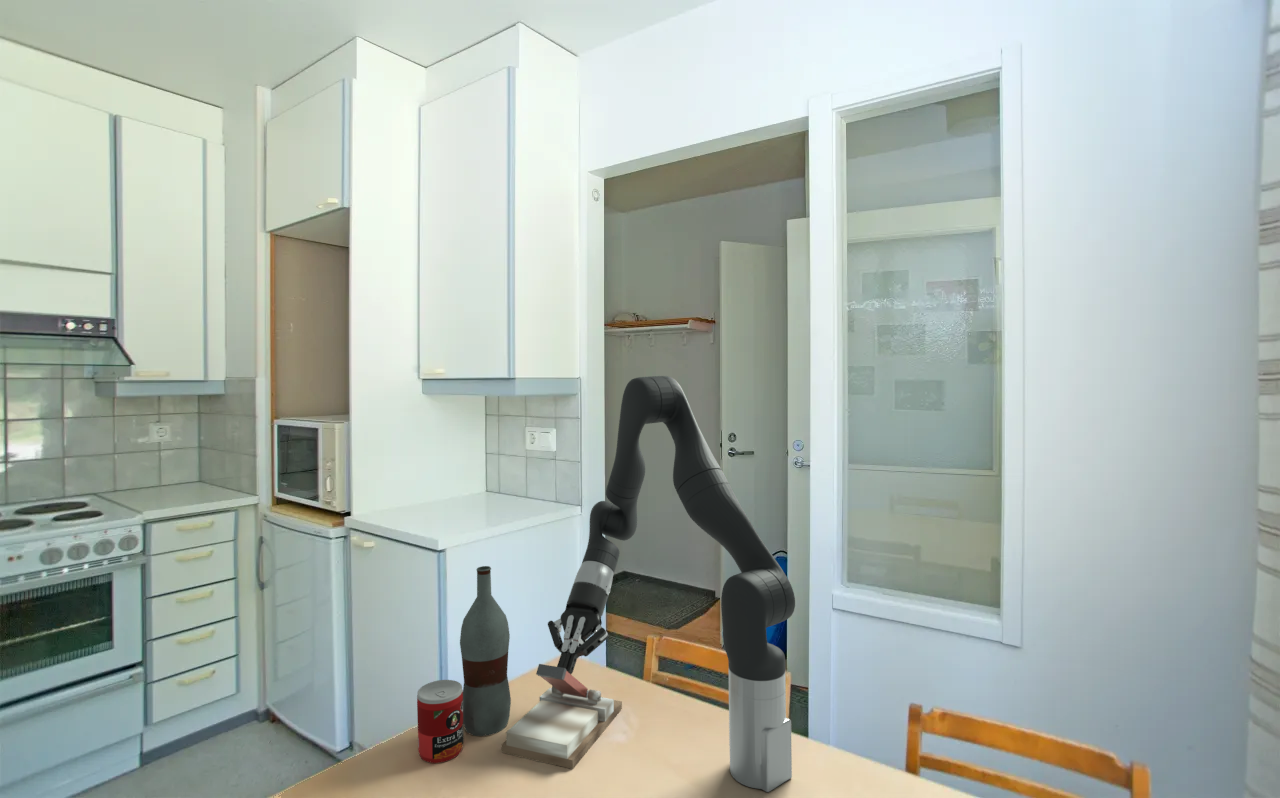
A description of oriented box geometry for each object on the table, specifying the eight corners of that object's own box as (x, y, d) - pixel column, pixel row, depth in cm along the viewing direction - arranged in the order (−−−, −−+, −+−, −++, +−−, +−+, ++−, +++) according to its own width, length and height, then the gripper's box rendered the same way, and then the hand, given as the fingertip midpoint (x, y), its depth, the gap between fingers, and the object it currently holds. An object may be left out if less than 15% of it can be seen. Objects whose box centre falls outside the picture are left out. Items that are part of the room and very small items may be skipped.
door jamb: (559, 697, 130) (559, 669, 130) (621, 709, 125) (621, 679, 125) (501, 752, 110) (501, 719, 110) (572, 769, 105) (572, 734, 105)
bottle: (488, 707, 126) (485, 558, 126) (521, 720, 121) (518, 565, 121) (450, 729, 118) (447, 570, 118) (485, 743, 113) (482, 577, 113)
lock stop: (566, 686, 124) (539, 663, 114) (590, 690, 122) (564, 668, 112) (564, 695, 123) (536, 674, 113) (588, 700, 121) (561, 678, 111)
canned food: (436, 769, 106) (434, 704, 105) (408, 753, 110) (407, 691, 110) (473, 748, 112) (472, 687, 112) (445, 734, 117) (444, 675, 116)
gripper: (555, 577, 128) (524, 661, 116) (615, 583, 123) (588, 672, 112) (568, 594, 133) (539, 677, 121) (626, 601, 128) (601, 688, 117)
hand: (563, 675), depth 117 cm, fingers closed
